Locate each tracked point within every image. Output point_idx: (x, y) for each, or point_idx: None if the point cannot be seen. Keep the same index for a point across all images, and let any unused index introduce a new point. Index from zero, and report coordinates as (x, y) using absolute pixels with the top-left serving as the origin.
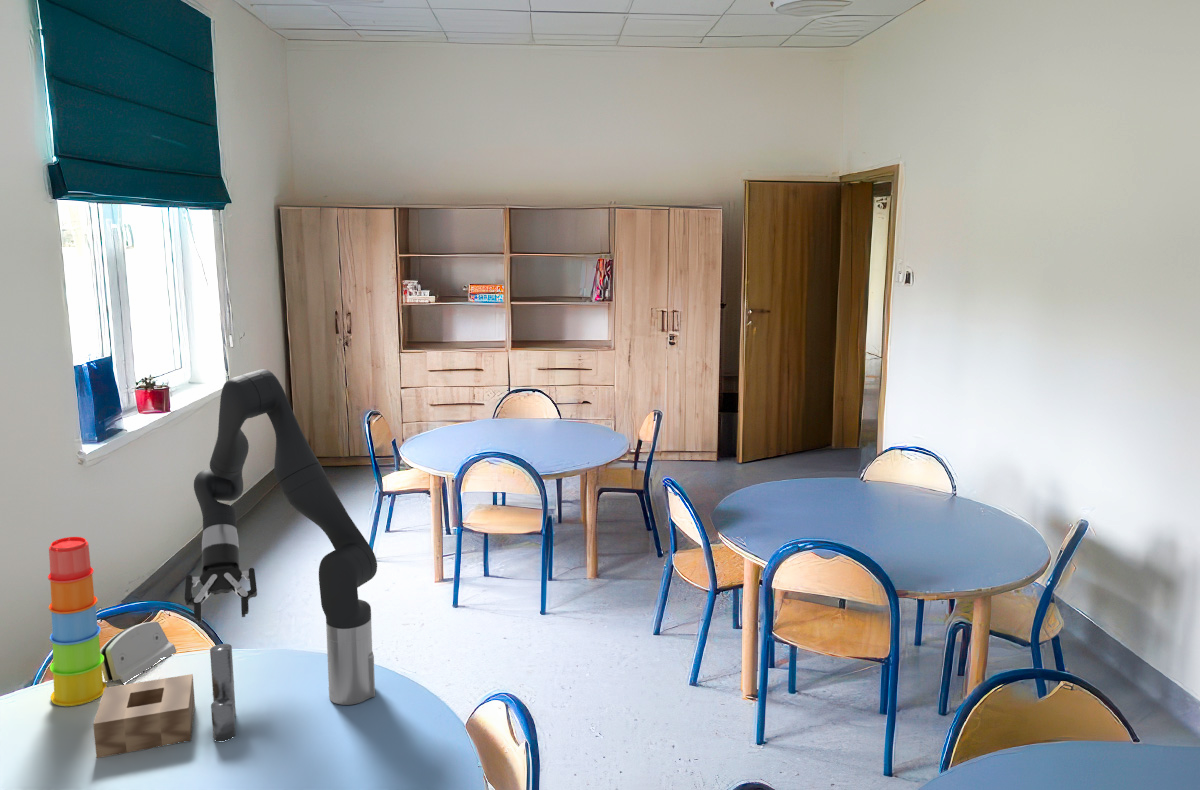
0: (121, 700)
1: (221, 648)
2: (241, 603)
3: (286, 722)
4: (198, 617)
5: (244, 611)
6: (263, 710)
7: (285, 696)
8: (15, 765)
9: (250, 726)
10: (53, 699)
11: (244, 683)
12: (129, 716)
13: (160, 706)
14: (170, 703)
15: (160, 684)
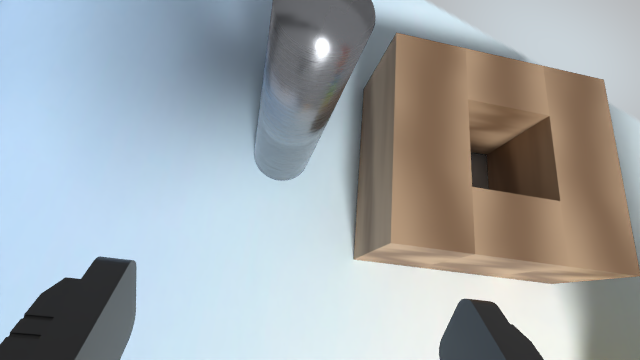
0: (572, 166)
1: (322, 4)
2: (82, 338)
3: (139, 50)
4: (492, 307)
5: (98, 261)
6: (180, 136)
7: (96, 183)
8: None
9: (228, 78)
10: None
11: (197, 338)
12: (532, 69)
13: (467, 77)
14: (443, 79)
15: (485, 214)
